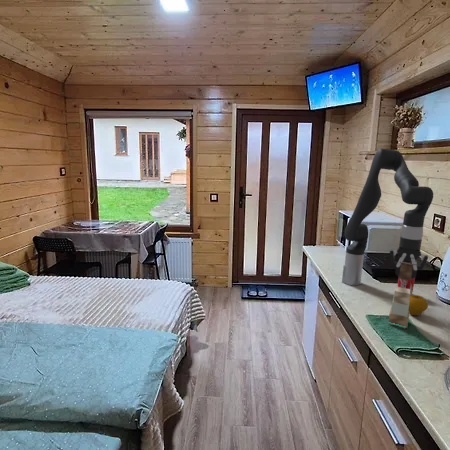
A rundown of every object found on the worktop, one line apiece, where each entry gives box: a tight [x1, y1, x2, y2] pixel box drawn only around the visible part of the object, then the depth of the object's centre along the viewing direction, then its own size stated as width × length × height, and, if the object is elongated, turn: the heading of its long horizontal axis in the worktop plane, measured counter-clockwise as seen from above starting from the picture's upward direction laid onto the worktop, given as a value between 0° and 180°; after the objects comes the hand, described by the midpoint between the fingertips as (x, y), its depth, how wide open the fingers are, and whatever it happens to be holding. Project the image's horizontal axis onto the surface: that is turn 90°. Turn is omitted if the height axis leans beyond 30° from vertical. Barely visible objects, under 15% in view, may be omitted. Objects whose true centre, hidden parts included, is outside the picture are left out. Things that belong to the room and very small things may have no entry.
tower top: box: [392, 286, 411, 305], centre depth 135 cm, size 6×6×5 cm
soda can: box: [396, 277, 416, 296], centre depth 166 cm, size 7×7×12 cm
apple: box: [408, 294, 429, 316], centre depth 145 cm, size 9×9×9 cm
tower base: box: [387, 306, 410, 328], centre depth 137 cm, size 7×7×5 cm
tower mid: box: [390, 296, 409, 317], centre depth 136 cm, size 6×6×5 cm
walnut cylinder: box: [397, 261, 414, 280], centre depth 133 cm, size 5×5×6 cm
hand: (405, 276), depth 133 cm, fingers closed on walnut cylinder, 4 cm apart
